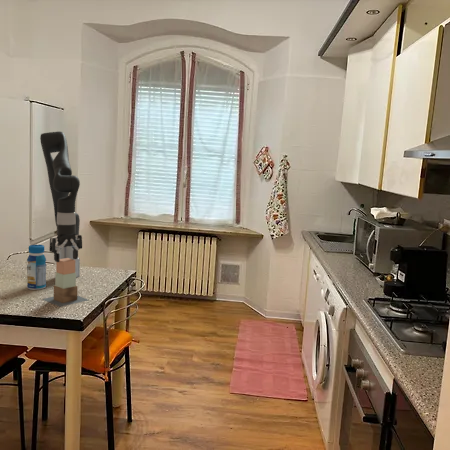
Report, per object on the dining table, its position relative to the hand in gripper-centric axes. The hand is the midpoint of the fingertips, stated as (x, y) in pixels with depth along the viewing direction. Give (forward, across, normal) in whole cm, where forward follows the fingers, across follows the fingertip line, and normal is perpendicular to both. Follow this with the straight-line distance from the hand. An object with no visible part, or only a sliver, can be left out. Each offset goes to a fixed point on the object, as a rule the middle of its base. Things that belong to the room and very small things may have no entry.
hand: (66, 260), depth 197 cm
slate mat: (+18, 0, 0) cm, 18 cm away
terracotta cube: (+5, 0, 0) cm, 5 cm away
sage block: (+11, 0, 0) cm, 11 cm away
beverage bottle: (+18, -1, -25) cm, 31 cm away
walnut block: (+17, 0, 0) cm, 17 cm away
